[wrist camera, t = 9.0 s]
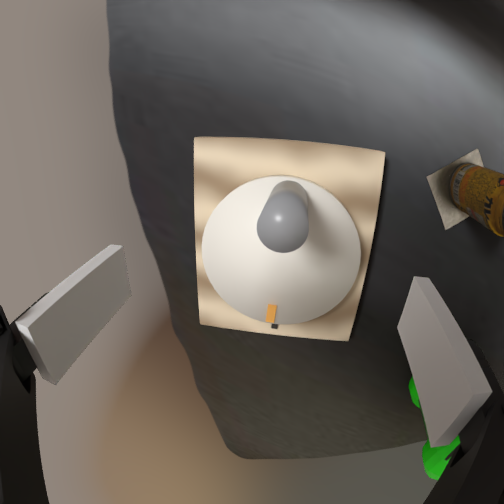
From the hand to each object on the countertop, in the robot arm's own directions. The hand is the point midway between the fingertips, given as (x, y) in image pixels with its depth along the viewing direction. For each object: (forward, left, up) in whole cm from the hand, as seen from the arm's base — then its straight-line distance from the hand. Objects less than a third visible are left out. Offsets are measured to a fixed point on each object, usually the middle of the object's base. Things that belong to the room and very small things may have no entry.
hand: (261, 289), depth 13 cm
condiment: (-3, +21, -22) cm, 31 cm away
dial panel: (+7, 0, -22) cm, 23 cm away
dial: (+7, 0, -20) cm, 21 cm away
